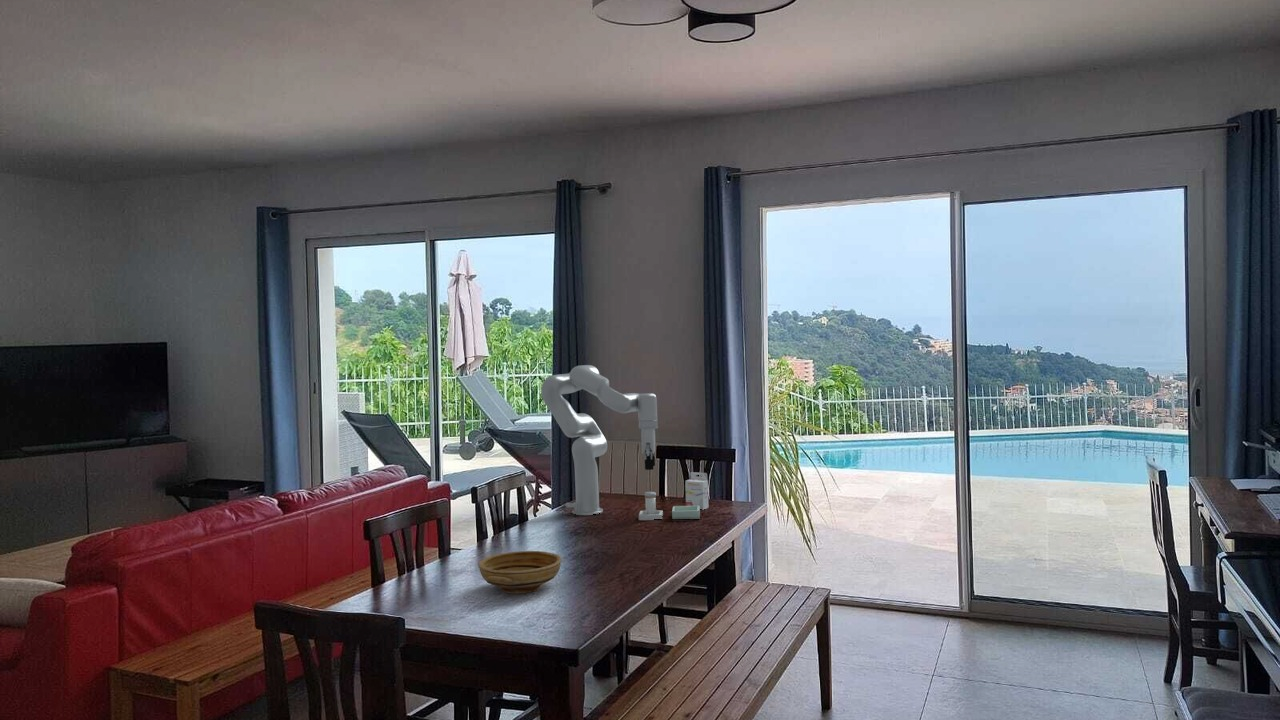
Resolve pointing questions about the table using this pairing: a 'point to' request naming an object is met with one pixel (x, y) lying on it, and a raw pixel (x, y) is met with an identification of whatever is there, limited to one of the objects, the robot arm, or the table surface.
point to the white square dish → (650, 517)
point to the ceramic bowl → (520, 570)
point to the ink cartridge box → (697, 490)
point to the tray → (686, 512)
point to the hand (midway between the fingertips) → (650, 467)
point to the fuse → (650, 503)
